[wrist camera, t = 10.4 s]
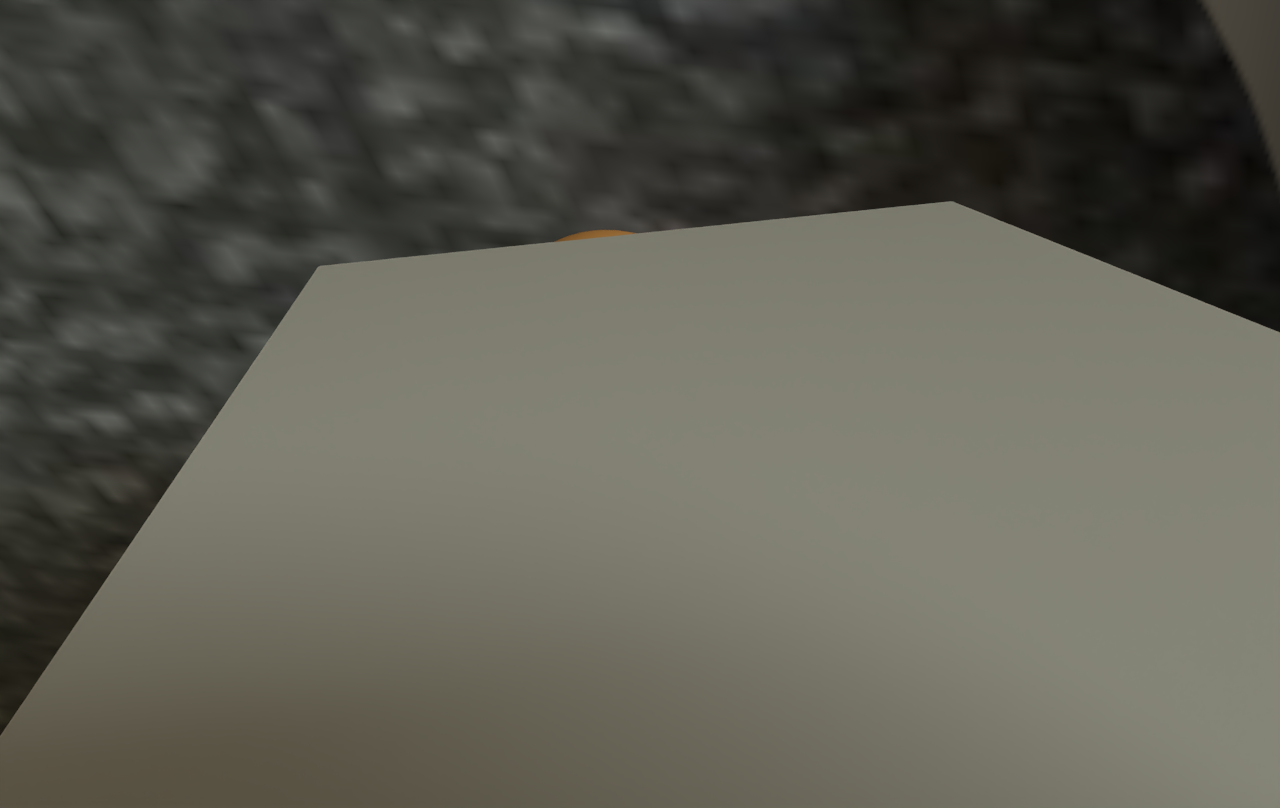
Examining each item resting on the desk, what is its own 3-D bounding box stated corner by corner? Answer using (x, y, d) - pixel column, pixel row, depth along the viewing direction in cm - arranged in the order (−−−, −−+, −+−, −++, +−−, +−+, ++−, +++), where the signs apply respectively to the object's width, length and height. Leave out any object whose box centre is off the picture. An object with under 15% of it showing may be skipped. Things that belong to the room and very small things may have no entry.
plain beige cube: (907, 673, 14) (1459, 1540, 6) (431, 754, 13) (342, 1910, 5) (952, 201, 11) (2305, 745, 3) (319, 265, 10) (-434, 1377, 2)
